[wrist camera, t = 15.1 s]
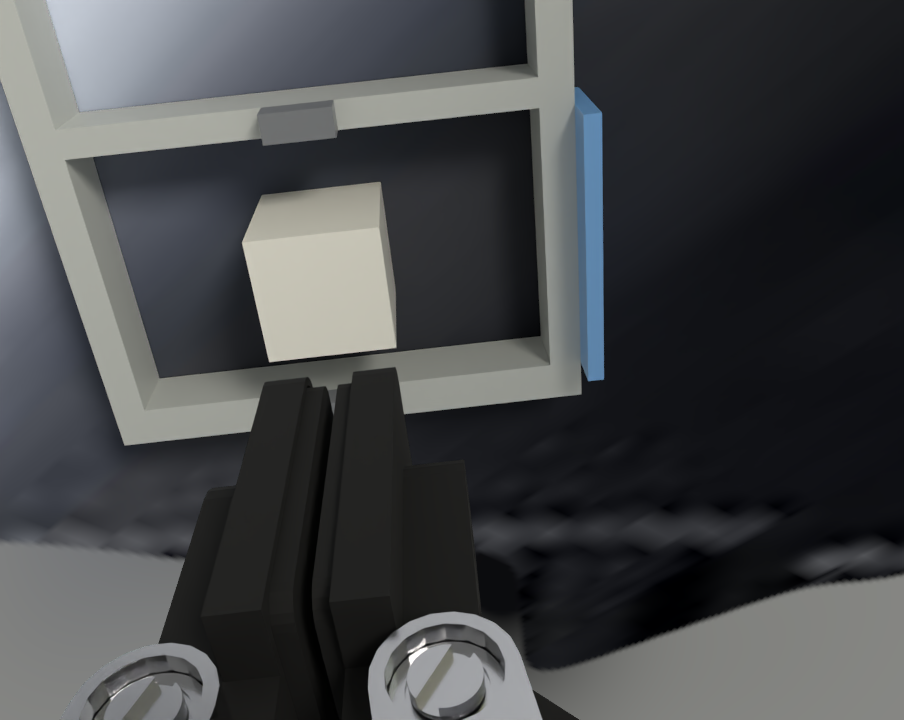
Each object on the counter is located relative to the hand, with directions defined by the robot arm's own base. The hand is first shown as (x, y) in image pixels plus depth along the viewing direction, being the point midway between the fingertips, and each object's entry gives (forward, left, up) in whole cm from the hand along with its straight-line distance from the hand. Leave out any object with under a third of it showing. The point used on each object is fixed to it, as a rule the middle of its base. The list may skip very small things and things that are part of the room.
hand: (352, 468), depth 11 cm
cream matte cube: (+3, +5, -23) cm, 23 cm away
